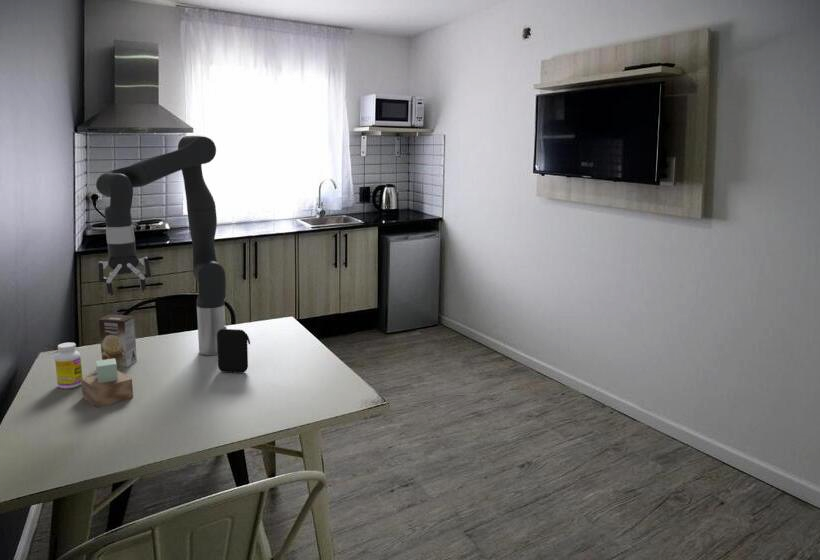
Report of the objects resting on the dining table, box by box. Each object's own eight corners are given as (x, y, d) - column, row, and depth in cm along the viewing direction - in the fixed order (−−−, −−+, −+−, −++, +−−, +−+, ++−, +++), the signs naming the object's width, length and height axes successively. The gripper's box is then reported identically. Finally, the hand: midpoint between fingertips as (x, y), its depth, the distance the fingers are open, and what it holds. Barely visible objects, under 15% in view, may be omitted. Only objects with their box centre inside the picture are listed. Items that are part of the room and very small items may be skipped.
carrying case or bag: (252, 371, 193) (251, 328, 190) (249, 374, 190) (248, 331, 187) (220, 369, 193) (218, 327, 190) (217, 373, 190) (215, 330, 187)
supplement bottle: (77, 389, 175) (73, 348, 172) (54, 389, 174) (49, 348, 171) (86, 380, 182) (82, 341, 179) (63, 381, 181) (59, 341, 178)
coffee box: (101, 365, 194) (97, 319, 190) (112, 359, 200) (108, 313, 196) (127, 367, 193) (123, 320, 189) (138, 360, 199) (134, 315, 196)
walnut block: (118, 388, 177) (116, 369, 176) (133, 398, 171) (131, 378, 170) (83, 398, 170) (81, 378, 169) (97, 408, 164) (95, 388, 162)
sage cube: (116, 374, 173) (115, 358, 171) (117, 380, 168) (116, 363, 167) (97, 377, 170) (95, 360, 169) (98, 383, 166) (96, 366, 165)
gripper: (145, 236, 182) (150, 287, 186) (93, 240, 175) (100, 292, 179) (148, 240, 176) (153, 292, 180) (94, 244, 169) (101, 298, 173)
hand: (127, 292), depth 179 cm, fingers open, 8 cm apart
